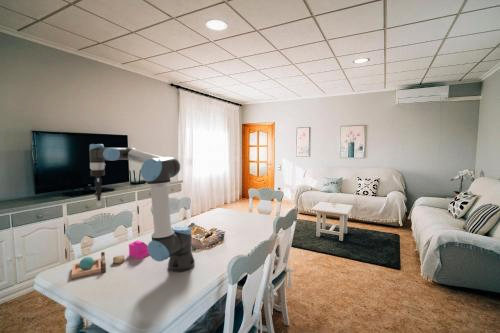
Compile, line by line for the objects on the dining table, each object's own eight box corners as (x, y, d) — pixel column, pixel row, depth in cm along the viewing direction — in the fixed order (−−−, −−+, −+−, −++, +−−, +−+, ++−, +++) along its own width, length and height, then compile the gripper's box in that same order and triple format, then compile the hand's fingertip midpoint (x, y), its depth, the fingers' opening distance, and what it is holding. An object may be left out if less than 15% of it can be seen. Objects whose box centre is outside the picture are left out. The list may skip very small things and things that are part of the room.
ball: (94, 270, 136) (93, 258, 135) (79, 274, 132) (78, 261, 131) (94, 265, 142) (93, 253, 141) (79, 268, 138) (79, 256, 137)
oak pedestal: (124, 262, 146) (124, 258, 146) (113, 265, 143) (113, 260, 143) (123, 258, 151) (123, 254, 151) (112, 261, 148) (112, 256, 148)
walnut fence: (106, 272, 135) (105, 263, 135) (102, 273, 134) (101, 264, 134) (104, 259, 150) (104, 251, 149) (101, 260, 149) (101, 252, 148)
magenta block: (139, 259, 151) (139, 243, 150) (129, 255, 156) (128, 240, 155) (155, 252, 162) (155, 237, 161) (145, 248, 167) (144, 234, 166)
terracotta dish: (101, 272, 135) (101, 268, 135) (71, 279, 128) (71, 274, 127) (100, 262, 146) (100, 258, 146) (73, 268, 139) (73, 264, 139)
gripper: (105, 170, 139) (106, 207, 141) (104, 167, 160) (105, 199, 162) (90, 171, 135) (91, 208, 137) (90, 167, 156) (91, 200, 158)
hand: (98, 203), depth 149 cm, fingers open, 13 cm apart
